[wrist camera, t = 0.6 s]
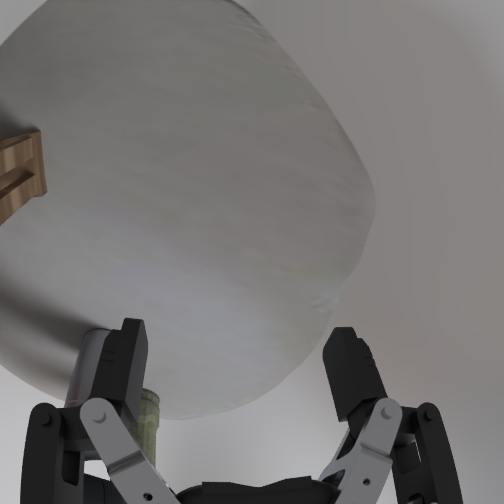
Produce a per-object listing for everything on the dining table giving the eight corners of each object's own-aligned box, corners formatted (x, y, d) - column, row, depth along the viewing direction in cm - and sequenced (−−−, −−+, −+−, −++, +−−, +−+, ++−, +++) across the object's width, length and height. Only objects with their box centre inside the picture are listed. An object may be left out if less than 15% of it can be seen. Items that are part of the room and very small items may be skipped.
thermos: (173, 400, 55) (178, 550, 26) (134, 409, 57) (130, 543, 27) (147, 381, 51) (144, 549, 21) (108, 391, 52) (96, 538, 22)
